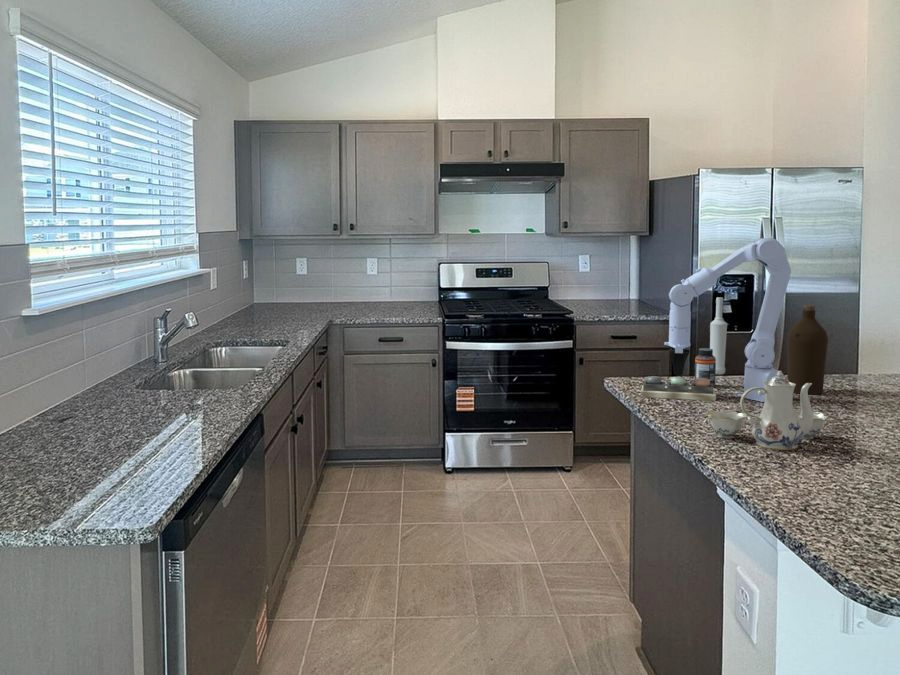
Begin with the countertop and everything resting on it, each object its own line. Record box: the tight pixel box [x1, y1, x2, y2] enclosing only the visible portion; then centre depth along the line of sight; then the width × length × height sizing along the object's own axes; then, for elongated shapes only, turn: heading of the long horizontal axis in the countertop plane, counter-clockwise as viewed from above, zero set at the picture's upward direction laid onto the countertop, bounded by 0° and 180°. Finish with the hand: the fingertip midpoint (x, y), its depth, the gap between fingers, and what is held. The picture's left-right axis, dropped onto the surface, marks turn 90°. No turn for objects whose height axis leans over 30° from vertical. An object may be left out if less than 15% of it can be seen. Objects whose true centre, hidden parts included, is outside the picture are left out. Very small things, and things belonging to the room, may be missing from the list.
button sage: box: [670, 376, 687, 386], centre depth 218 cm, size 4×4×2 cm
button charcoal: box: [646, 375, 663, 385], centre depth 220 cm, size 4×4×2 cm
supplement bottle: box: [694, 347, 716, 388], centre depth 232 cm, size 6×6×11 cm
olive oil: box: [786, 304, 829, 396], centre depth 221 cm, size 11×11×25 cm
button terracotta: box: [694, 378, 710, 387], centre depth 217 cm, size 4×4×2 cm
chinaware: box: [702, 370, 836, 451], centre depth 169 cm, size 28×17×17 cm, turn 92°
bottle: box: [709, 296, 728, 375], centre depth 253 cm, size 5×5×25 cm
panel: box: [640, 380, 717, 402], centre depth 219 cm, size 20×10×3 cm, turn 73°
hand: (678, 375), depth 218 cm, fingers closed
